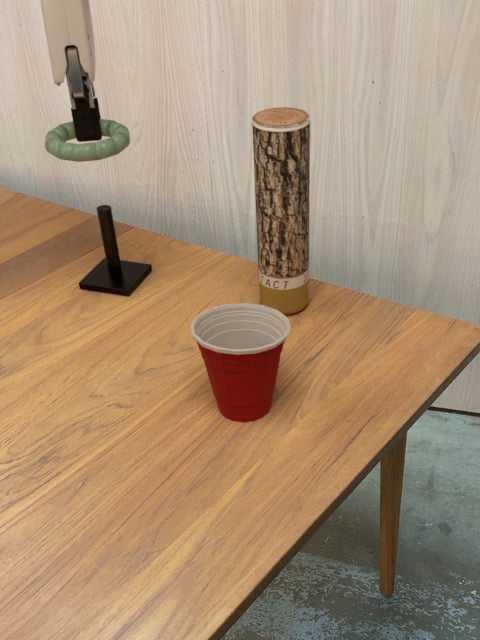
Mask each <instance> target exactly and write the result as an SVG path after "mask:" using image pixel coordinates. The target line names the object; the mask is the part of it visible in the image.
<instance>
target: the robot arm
mask: <svg viewBox="0 0 480 640" xmlns="http://www.w3.org/2000/svg"><path fill="white" fill-rule="evenodd" d="M40 5H41V6H40V7H41V14H42V20H43V27H44V33H45V37H46V43H47V49H48V54H49V60H50V66H51V74H52V80H53V83H54V84H55V85H56V86H57V87H60V86H62V85H61V84H64V82H65V77H66V84H67V87H68V88H67V89H68V94H69V100H70V105H71V107H70V111H71V112H70V113H71V117H72V121H73V123H74V128H75V134H76V138H75V140H76V141H77V142H79V143H86V142H98V141H101V140H103V136H102V133H101V127H100V121H99V119H102V117H101V112H100V105H99V99H98V97H96V91H95V84H94V82H95V80H96V69H97V67H96V66H97V63H96V62H97V61H96V59H97V58H96V45H95V35H94V27H93V20H92V13H91V12H92V11H91V6H90V0H40Z"/></svg>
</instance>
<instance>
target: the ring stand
mask: <svg viewBox="0 0 480 640" xmlns="http://www.w3.org/2000/svg"><path fill="white" fill-rule="evenodd" d="M96 214H97V219H98V224H99V231H100V234H101V241H102V247H103V251H104V256H105V257H103V258H102V259H101V260H100V261H99V262H98V263H97V264H96V265H95V266H94V267H93V268H92V269H91V270H90V271H89V272H88V273H87V274H86V275H85V276H84V277H83V278H82V279H81V280H80V281H79V282H78V287H79V290H84V291H90V292H98V293H104V294H111V295H117V296H124V297H131V295H132V294H133V293H134V292H135V291H136V289H137V288H138V287H139V286H140V285H141V284H142V283H143V281H145V280H146V278H147V277H148V276H149V275H150V274H151V272H153V264H151V263H146V262H145V263H144V262H137V261H129V260H124V259H121V257H120V251H119V245H118V239H117V234H116V227H115V222H114V217H113V209H112V206H111V205H110V204H102V205H99V206H97V207H96Z"/></svg>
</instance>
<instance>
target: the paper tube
mask: <svg viewBox="0 0 480 640" xmlns="http://www.w3.org/2000/svg"><path fill="white" fill-rule="evenodd" d="M310 117H311V115H310V113H308V112H307V111H306V110H303V109H299V108H296V107H287V106H285V107H284V106H282V107H281V106H280V107H269V108H266V109H262V110H259V111H257V112H256V113H254V114H253V116H252V117H251V118H252V122H251V125H252V127H251V128H252V151H253V152H252V153H253V174H254V196H255V197H254V198H255V199H254V200H255V221H256V245H257V246H256V247H257V249H256V250H257V270H258V287H259V288H258V290H259V291H258V292H259V293H258V294H259V303H260V305H264V306H267V307H270V308H273V309H276V310H278V311H279V312H281V313H282V314H283V315H285V316H287V315H288V316H289V315H295V314H297V313H298V312H301V311H303V310H304V309H305V308H306V307H307V305H308V303H309V298H310V297H309V295H310V294H309V289H310V286H309V285H310V284H309V283H310V281H309V280H310V279H309V278H310V187H311V185H310V183H311V181H310V178H311V177H310V175H311V172H310V171H311V169H310V165H311V164H310V162H311V157H310V155H311V119H310Z"/></svg>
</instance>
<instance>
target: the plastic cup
mask: <svg viewBox="0 0 480 640" xmlns="http://www.w3.org/2000/svg"><path fill="white" fill-rule="evenodd" d="M189 326H190V332H191V336H192V339H193V340H195V342H196V344H197V346H198V349H199V351H200V354H201V358H202V359H203V363H204V366H205V370H206V372H207V377H208V380H209V383H210V387H211V389H212V390H211V391H212V394H213V396H214V398H215V401H216V405H217V407H218V411H219V413H220V414H221V415H222V417H224V419H227V420H229V421H232V422H236V423H250V422H255V421H257V420H260V419H263V418H264V417H265V416H266V415H268V414H269V413H270V410H271V408H272V404H273V403H272V402H273V397H274V391H275V389H276V384H277V377H278V372H279V368H280V362H281V361H280V360H281V355H282V352H283V349H284V345H285V342H286V341H287V338H288V337H289V334H290V332H291V329H292V325H291V321H290V320H289V317H287V315H283V314H282V313H281V312H279V311H278V310H276V309H273V308H270V307H267V306H264V305H261V304H256V303H249V302H248V303H247V302H238V303H237V302H236V303H225V304H221V305H217V306H214V307H210V308H207V309H205V310H204V311H202V312H201V313H198V314H197V315H195V317H194V318H193V320H192V321H191V323H190V325H189Z"/></svg>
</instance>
